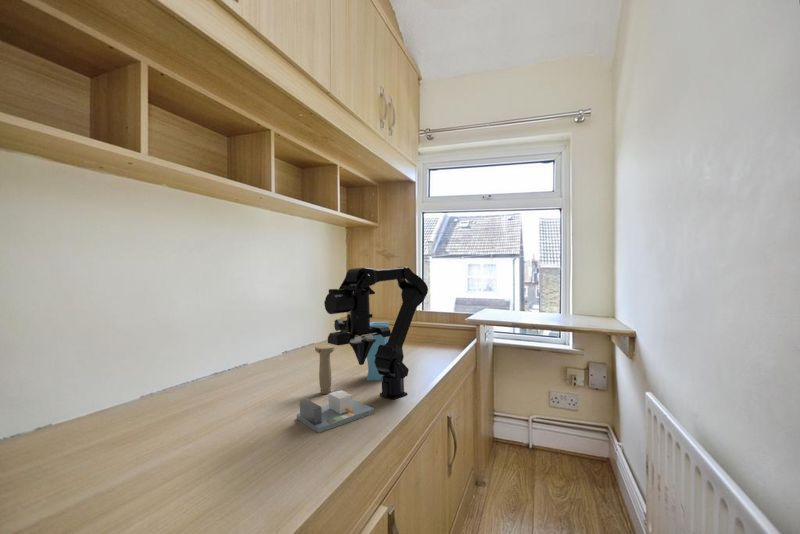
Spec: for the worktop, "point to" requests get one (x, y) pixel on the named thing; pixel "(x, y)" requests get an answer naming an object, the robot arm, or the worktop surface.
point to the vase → (371, 357)
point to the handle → (325, 367)
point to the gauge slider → (341, 402)
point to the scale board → (338, 416)
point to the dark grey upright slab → (311, 412)
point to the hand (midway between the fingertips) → (361, 364)
